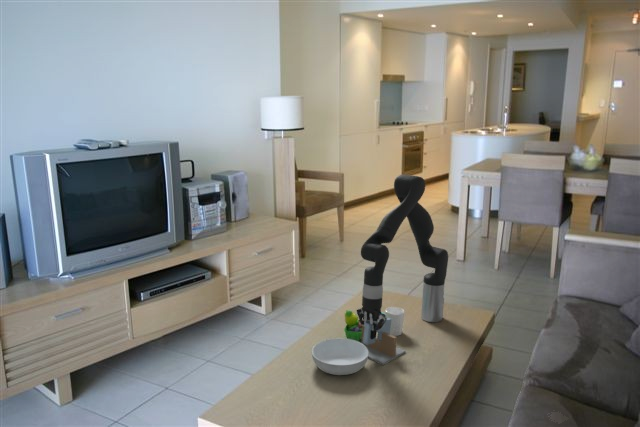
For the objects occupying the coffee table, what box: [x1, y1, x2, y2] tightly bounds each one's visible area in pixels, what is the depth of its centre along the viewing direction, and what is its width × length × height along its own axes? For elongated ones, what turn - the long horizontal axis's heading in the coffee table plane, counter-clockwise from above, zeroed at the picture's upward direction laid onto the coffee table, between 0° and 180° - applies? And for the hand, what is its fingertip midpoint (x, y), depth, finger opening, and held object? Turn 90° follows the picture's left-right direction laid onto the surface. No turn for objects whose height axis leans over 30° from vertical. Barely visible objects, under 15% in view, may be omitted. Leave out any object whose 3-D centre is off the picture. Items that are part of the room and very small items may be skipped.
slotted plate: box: [363, 318, 392, 345], centre depth 203 cm, size 14×2×8 cm, turn 135°
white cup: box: [384, 306, 405, 337], centre depth 221 cm, size 8×8×10 cm
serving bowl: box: [311, 337, 369, 376], centre depth 192 cm, size 21×21×7 cm
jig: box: [360, 325, 406, 366], centre depth 204 cm, size 14×16×9 cm
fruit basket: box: [343, 309, 362, 342], centre depth 216 cm, size 11×9×11 cm
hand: (370, 337), depth 200 cm, fingers closed on slotted plate, 2 cm apart
